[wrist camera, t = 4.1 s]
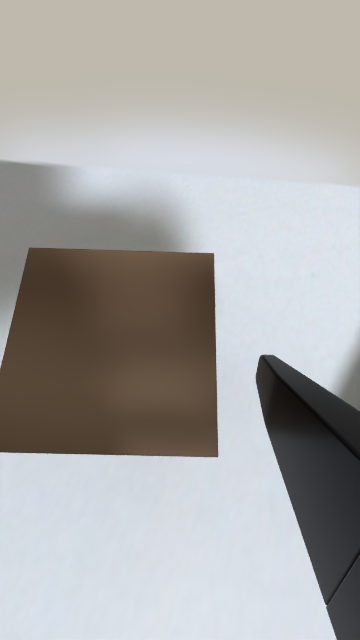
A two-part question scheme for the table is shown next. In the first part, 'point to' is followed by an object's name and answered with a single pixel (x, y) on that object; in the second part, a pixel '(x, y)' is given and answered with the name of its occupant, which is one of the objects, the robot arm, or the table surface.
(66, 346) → the walnut block
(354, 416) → the robot arm
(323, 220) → the table surface
